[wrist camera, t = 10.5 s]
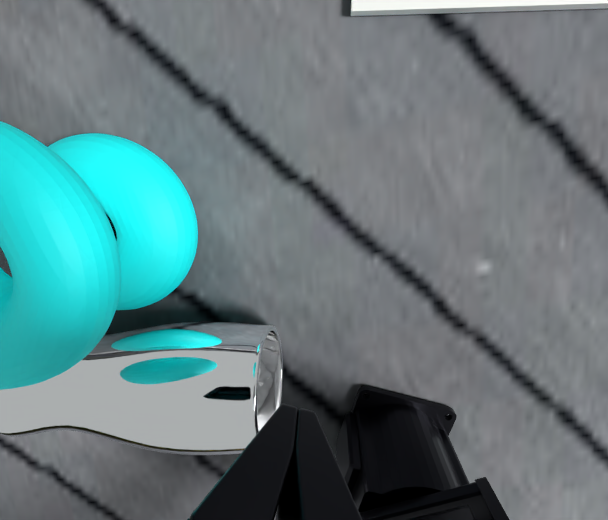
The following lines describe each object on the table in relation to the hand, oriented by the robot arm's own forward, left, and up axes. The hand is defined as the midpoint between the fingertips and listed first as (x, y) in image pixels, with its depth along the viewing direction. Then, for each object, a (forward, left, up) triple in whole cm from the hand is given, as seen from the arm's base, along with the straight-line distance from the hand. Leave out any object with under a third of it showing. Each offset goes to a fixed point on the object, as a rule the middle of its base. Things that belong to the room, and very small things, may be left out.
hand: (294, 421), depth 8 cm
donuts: (+12, 0, -12) cm, 17 cm away
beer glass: (+15, +10, -9) cm, 21 cm away
